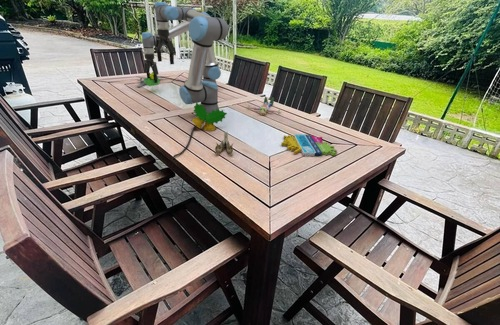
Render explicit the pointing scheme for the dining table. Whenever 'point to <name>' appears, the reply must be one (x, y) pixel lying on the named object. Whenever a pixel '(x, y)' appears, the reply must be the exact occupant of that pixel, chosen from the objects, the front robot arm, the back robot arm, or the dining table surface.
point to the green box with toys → (151, 80)
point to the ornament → (207, 117)
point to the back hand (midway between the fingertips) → (152, 81)
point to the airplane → (144, 81)
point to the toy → (265, 107)
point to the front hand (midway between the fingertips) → (165, 62)
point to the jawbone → (224, 145)
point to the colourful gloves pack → (308, 145)
